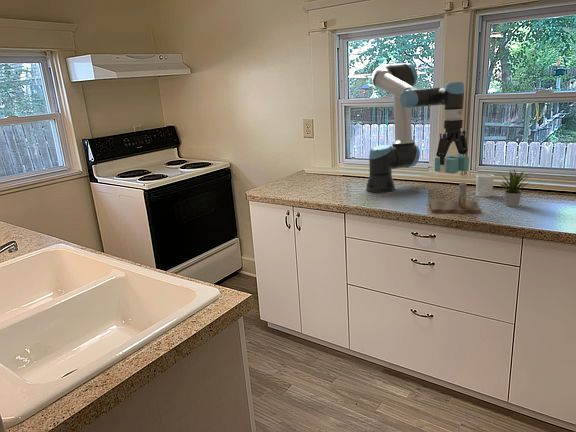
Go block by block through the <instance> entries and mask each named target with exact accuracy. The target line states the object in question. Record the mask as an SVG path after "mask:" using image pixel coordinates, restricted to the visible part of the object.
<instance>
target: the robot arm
mask: <svg viewBox="0 0 576 432" xmlns="http://www.w3.org/2000/svg"><path fill="white" fill-rule="evenodd" d="M417 81H418V71H417V69H416V67H415V66H414V64H412V63H409V62H407V63H406V62H400V63H399V62H398V63H385V64H381V65H379V66H377V67H376V68H375V69H374V71H373V72H372V74H371V82H372V85H373V86H374V87H375V88H376V89H378V90H380V91H386V92H387V93H389V94H391V95H392V96H393V97H392V98H393V118H394V120H393V121H394V141H393V142H392V145H391V144H380V145H376V146H373V147H371V148H370V150H369V156H368V159H369V160H368V161H369V176H368V180H367V182H366V185H365V187H366V191H367V192H371V193H389V192H393V191H395V190H396V189H395V188H396V186H395V181H394V178H393V175H392V174H393V173H392V171H393V170H395V169H407V168H413V167H415V166H416V165H417V164H418V162H419V161H420V160H419V159H420V157H421V156H420V154H421V152H420V149H419V145H416V142H415V140H413V138H412V135H413V134H412V113H411V108H420V107H421V108H422V107H432V106H444V115H443V118H444V121H443V129H445V132H444V133H439V140H438V146H437V150H436V156H435V157H440V172H439V173H444V172H446V164H447V157H445V156H447V153H448V150H449V148H450V146H451V144H453V142H454V144H455V147H456V149H457V152H458V153H457V155H456V156H465V155H466V154H467V153H468V149H469V148H468V145H467V137H466V133H467V131H466V130H461V129H462V128H463V123H464V121H463V115H464V102H465V101H464V100H465V83H464V82H463V81H452V82H446V83H445V87H431V88H417V87H414V86H415V85H416V84H417Z"/></svg>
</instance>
